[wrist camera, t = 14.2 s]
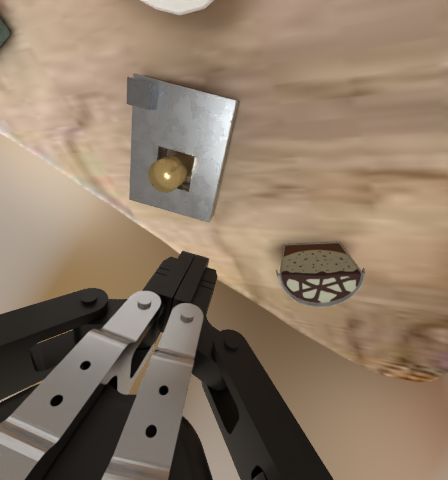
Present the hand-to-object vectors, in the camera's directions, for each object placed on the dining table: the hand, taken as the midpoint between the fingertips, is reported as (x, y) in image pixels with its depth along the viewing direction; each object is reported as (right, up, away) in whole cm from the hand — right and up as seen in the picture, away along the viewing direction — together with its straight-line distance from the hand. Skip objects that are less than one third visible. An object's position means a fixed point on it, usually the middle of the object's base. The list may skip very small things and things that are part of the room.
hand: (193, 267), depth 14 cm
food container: (+17, -2, +31) cm, 36 cm away
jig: (-5, +16, +26) cm, 31 cm away
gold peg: (-5, +14, +27) cm, 31 cm away
